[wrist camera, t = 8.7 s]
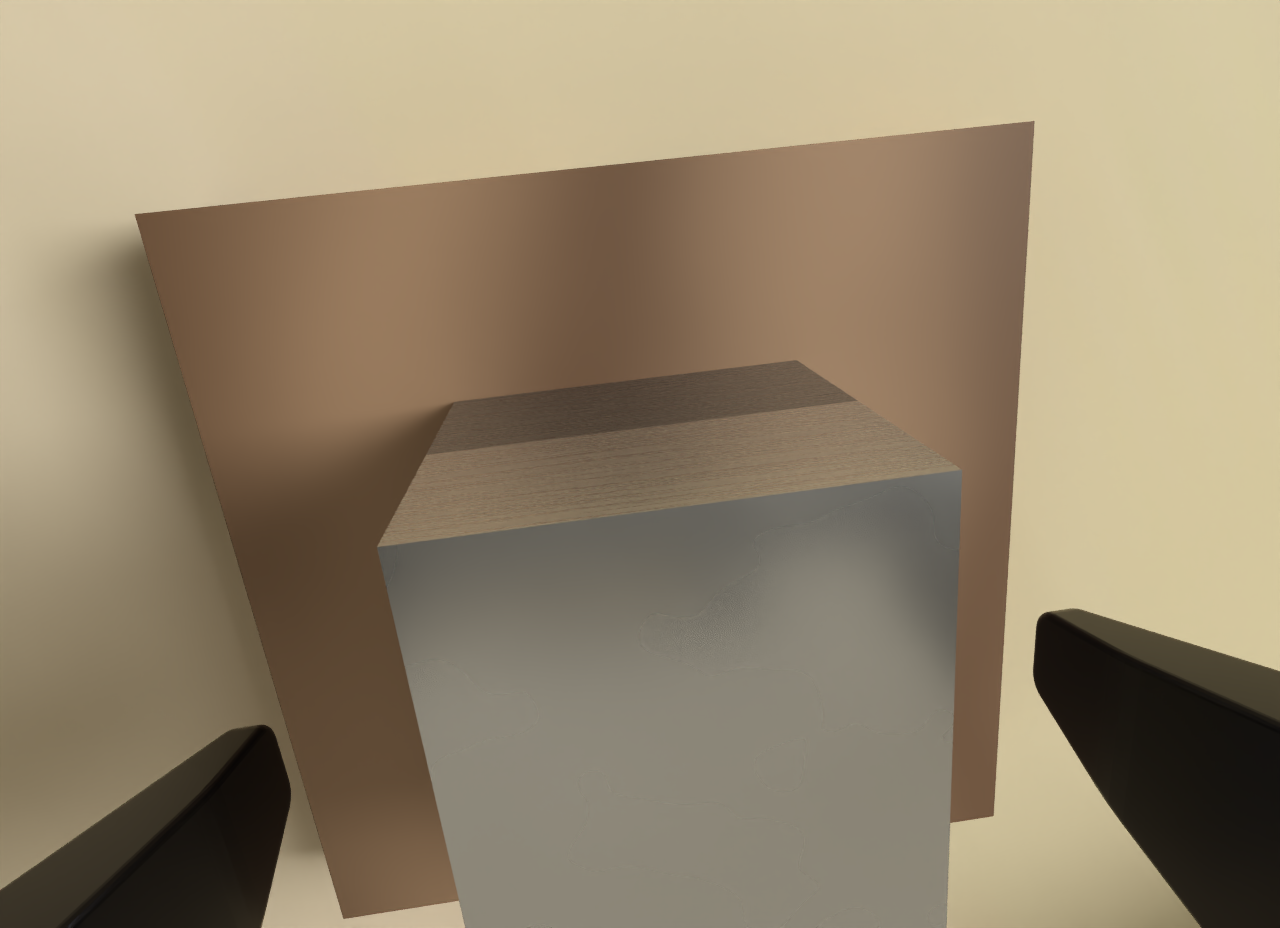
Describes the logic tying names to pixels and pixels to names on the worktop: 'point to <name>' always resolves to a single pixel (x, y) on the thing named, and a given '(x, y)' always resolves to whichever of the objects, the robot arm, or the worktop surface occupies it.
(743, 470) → the block
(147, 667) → the worktop surface
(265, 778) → the robot arm
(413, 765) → the walnut stand
